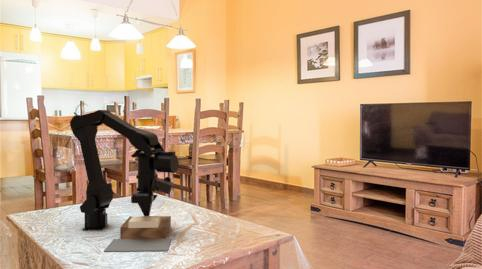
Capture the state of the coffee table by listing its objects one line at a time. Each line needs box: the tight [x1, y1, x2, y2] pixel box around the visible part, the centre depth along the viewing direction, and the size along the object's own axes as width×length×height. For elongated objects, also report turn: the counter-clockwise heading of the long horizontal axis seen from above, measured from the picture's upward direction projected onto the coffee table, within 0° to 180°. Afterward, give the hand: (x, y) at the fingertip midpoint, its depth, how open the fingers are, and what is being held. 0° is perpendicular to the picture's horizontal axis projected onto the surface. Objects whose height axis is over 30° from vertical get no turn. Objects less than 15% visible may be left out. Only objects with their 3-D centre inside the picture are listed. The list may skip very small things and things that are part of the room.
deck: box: [119, 215, 172, 239], centre depth 119 cm, size 14×12×4 cm
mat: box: [103, 237, 173, 253], centre depth 108 cm, size 18×10×1 cm, turn 93°
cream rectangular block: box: [128, 215, 162, 228], centre depth 115 cm, size 9×6×2 cm, turn 95°
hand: (147, 218), depth 119 cm, fingers closed
